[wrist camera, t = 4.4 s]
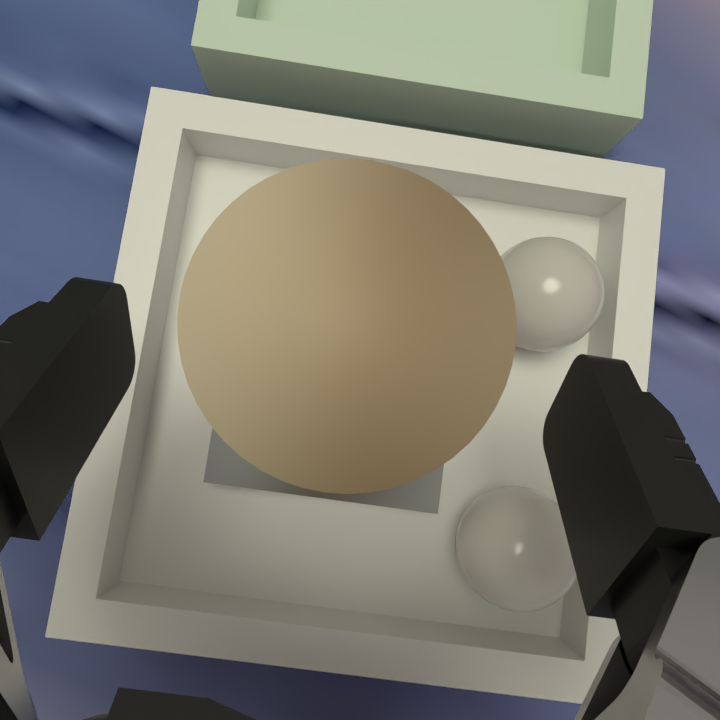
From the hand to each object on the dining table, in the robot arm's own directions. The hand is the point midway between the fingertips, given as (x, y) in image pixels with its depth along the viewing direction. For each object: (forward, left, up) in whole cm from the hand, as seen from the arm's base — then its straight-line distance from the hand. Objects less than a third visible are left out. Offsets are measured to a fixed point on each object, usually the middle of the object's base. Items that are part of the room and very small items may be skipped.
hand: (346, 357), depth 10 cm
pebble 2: (+5, -4, -4) cm, 7 cm away
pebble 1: (+5, +3, -4) cm, 7 cm away
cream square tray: (+1, 0, -7) cm, 7 cm away
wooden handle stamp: (0, 0, -6) cm, 6 cm away
